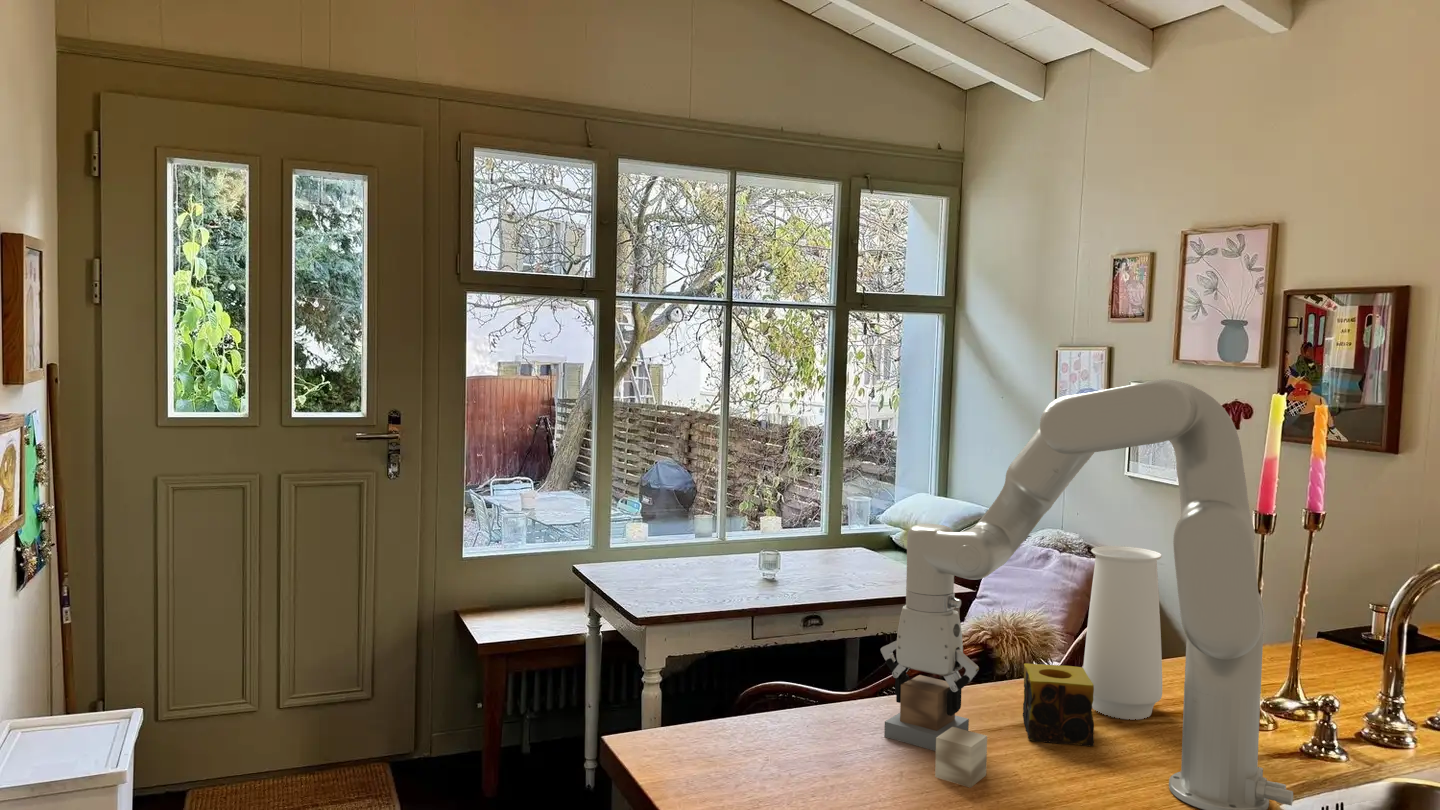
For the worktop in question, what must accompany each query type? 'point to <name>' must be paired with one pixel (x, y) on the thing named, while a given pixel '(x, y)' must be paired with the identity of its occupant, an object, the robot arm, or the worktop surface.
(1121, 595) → the vase
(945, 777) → the maple block
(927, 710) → the walnut block
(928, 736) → the slate slab
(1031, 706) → the yellow holed cube
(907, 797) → the worktop surface
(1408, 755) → the worktop surface
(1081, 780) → the worktop surface
